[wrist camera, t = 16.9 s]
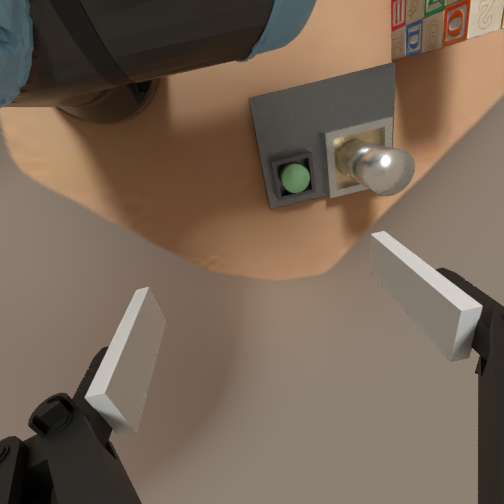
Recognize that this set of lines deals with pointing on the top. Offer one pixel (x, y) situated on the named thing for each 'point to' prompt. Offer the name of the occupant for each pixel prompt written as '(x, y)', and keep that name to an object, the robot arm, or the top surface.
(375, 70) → the panel
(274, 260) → the top surface
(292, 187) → the button
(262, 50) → the robot arm
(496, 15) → the stack of blocks
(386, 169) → the cylinder
